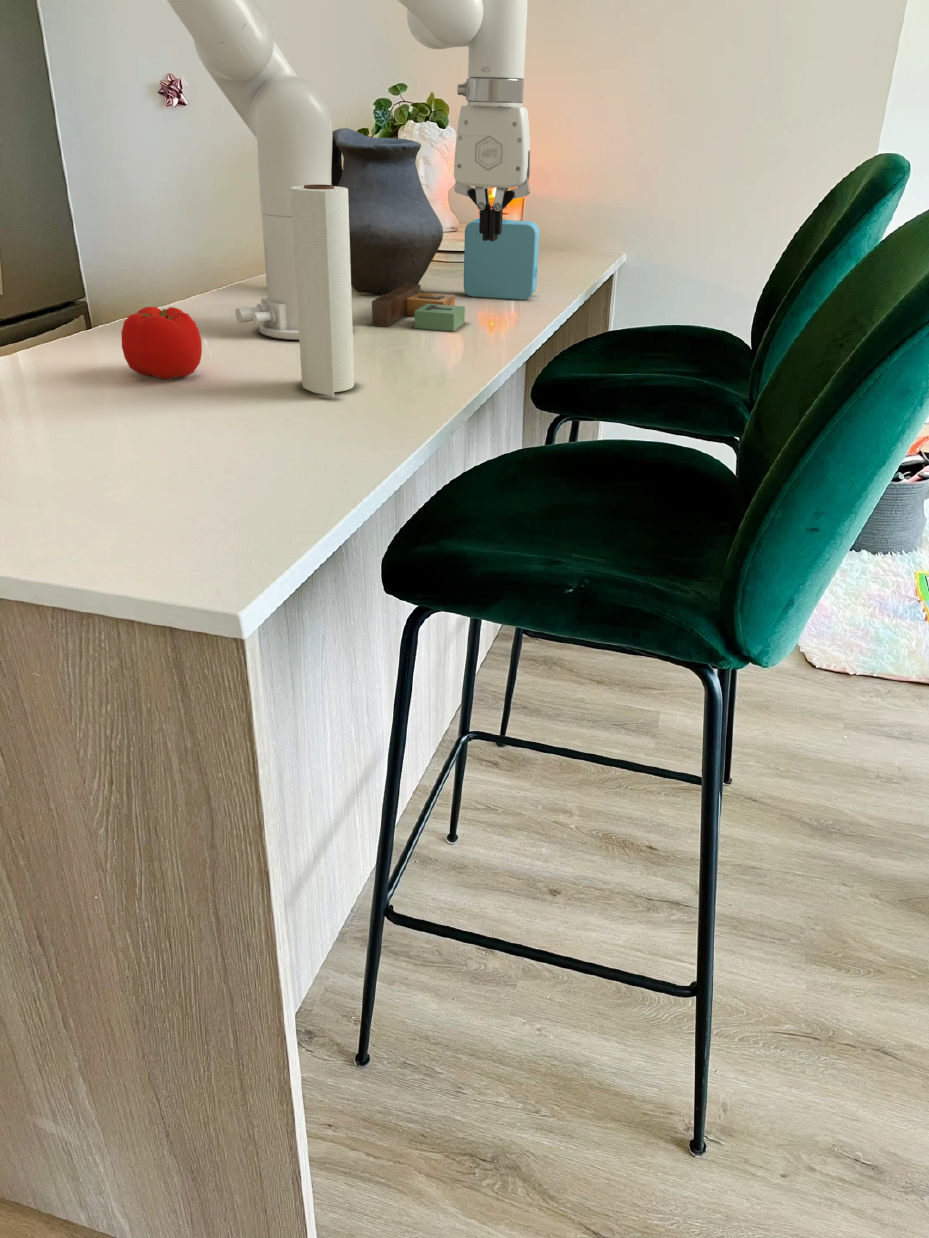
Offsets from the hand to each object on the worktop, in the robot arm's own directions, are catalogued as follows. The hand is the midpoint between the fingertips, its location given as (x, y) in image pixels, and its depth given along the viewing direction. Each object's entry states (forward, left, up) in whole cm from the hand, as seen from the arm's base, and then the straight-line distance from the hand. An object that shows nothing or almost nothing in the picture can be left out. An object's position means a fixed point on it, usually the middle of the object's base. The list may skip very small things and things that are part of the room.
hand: (490, 239), depth 136 cm
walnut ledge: (-8, +12, -12) cm, 19 cm away
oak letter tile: (-2, +11, -12) cm, 17 cm away
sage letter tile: (-7, +3, -12) cm, 14 cm away
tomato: (-51, -3, -12) cm, 52 cm away
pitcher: (+1, +33, -12) cm, 35 cm away
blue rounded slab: (+16, +18, -12) cm, 27 cm away
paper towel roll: (-38, -18, -12) cm, 44 cm away
